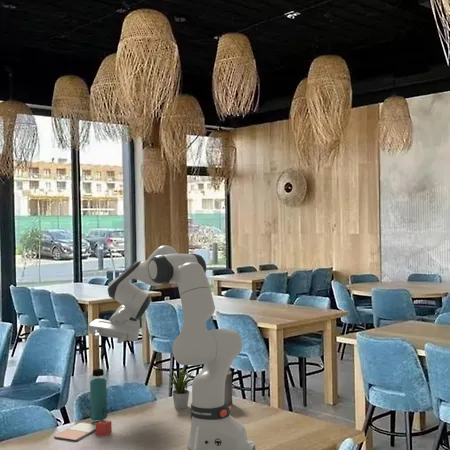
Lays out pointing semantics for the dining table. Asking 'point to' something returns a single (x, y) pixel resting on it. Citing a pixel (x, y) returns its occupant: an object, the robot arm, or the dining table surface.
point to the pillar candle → (228, 389)
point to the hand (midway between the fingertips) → (107, 339)
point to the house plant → (180, 389)
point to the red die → (103, 427)
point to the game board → (77, 431)
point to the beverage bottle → (98, 396)
